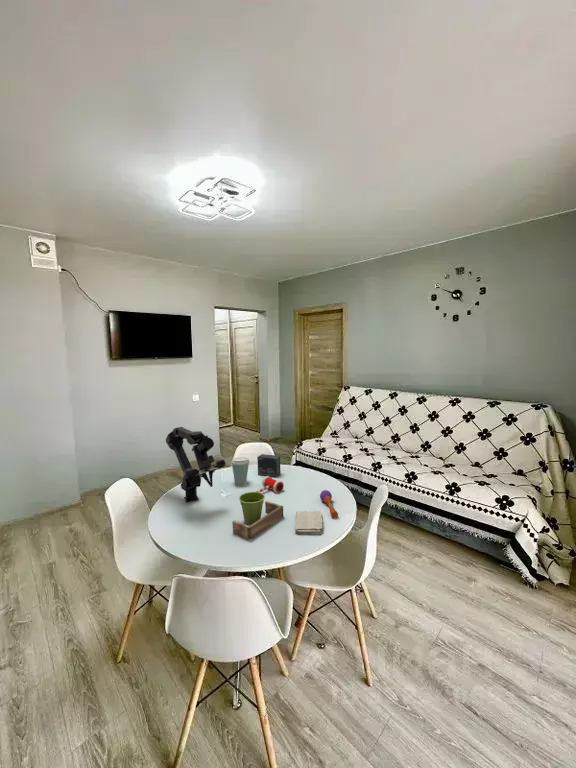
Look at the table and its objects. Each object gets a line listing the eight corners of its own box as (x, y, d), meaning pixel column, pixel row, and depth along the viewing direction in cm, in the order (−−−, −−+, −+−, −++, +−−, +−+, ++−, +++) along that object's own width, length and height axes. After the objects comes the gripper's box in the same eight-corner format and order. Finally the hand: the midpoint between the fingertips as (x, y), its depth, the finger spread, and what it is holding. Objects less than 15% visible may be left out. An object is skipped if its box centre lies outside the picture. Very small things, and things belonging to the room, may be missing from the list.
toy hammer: (250, 504, 163) (250, 492, 163) (237, 497, 172) (237, 485, 171) (284, 491, 179) (284, 480, 178) (270, 485, 187) (270, 474, 187)
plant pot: (269, 524, 143) (268, 499, 142) (242, 530, 139) (241, 504, 138) (261, 512, 154) (261, 489, 153) (237, 517, 150) (236, 494, 149)
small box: (281, 474, 204) (280, 455, 203) (276, 477, 198) (276, 458, 196) (262, 471, 209) (261, 453, 208) (257, 475, 202) (256, 456, 201)
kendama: (327, 510, 147) (317, 489, 166) (329, 522, 148) (319, 500, 167) (339, 507, 147) (329, 486, 167) (341, 519, 148) (331, 497, 168)
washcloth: (294, 536, 134) (294, 529, 134) (295, 514, 152) (295, 508, 152) (323, 536, 134) (323, 529, 133) (320, 514, 152) (320, 508, 151)
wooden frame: (232, 532, 137) (232, 521, 136) (267, 511, 155) (266, 501, 155) (249, 540, 131) (249, 528, 131) (283, 516, 150) (283, 506, 149)
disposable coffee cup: (229, 481, 193) (228, 457, 192) (247, 478, 197) (246, 454, 196) (234, 488, 183) (233, 462, 182) (252, 484, 188) (251, 459, 186)
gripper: (181, 459, 148) (191, 492, 143) (220, 445, 155) (231, 476, 150) (182, 464, 158) (192, 495, 153) (219, 450, 165) (229, 480, 160)
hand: (211, 486), depth 154 cm, fingers closed
